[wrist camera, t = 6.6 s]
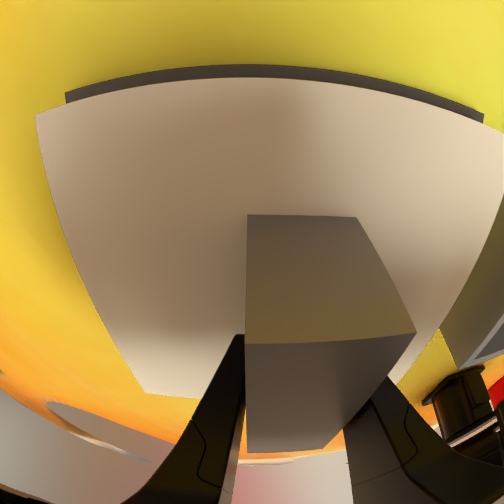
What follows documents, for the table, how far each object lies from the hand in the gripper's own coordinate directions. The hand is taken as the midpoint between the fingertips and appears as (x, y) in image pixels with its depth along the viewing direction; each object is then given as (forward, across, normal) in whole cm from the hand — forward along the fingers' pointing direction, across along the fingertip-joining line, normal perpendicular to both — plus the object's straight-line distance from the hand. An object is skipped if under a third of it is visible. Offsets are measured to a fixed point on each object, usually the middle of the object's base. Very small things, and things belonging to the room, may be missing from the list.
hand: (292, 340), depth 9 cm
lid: (+2, 0, 0) cm, 2 cm away
